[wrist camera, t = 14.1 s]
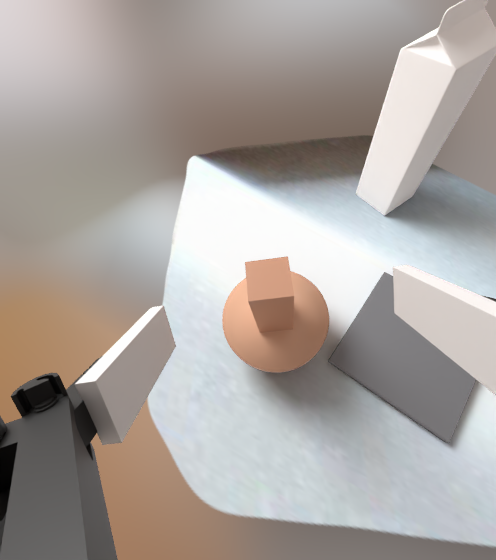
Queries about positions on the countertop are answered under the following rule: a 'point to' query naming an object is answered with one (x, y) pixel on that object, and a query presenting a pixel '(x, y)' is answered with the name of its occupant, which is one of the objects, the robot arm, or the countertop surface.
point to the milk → (426, 103)
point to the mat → (403, 365)
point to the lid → (275, 317)
